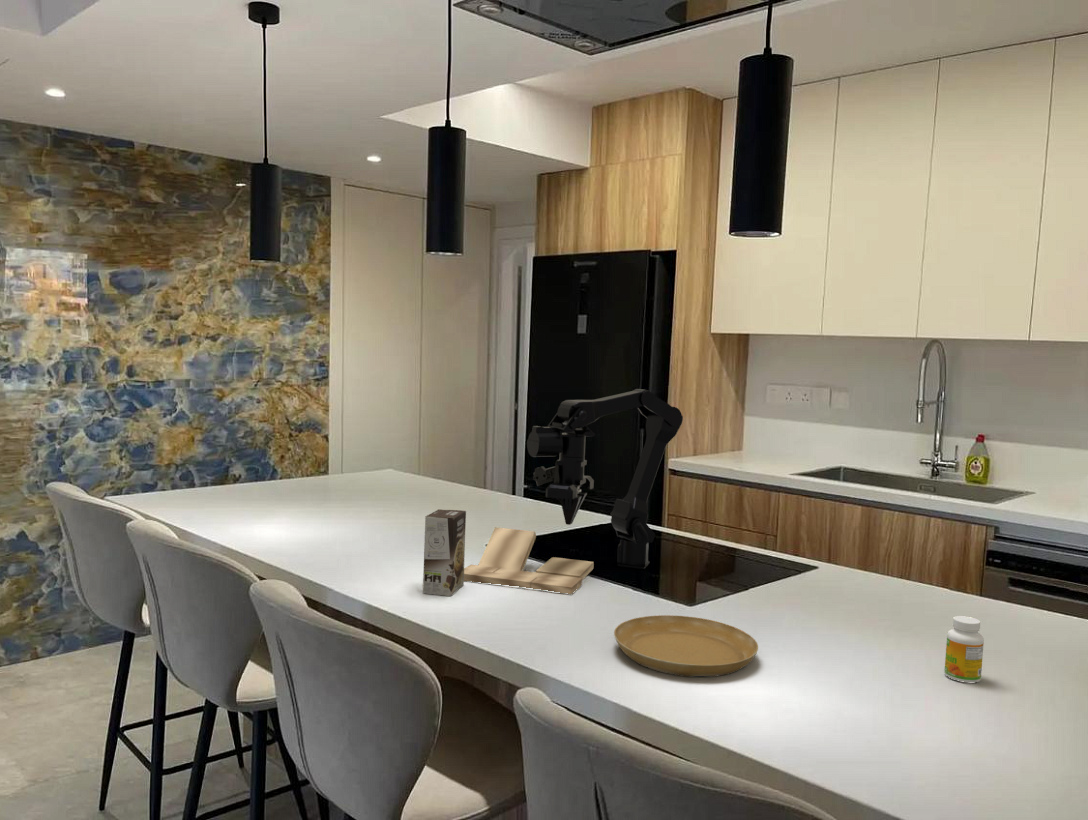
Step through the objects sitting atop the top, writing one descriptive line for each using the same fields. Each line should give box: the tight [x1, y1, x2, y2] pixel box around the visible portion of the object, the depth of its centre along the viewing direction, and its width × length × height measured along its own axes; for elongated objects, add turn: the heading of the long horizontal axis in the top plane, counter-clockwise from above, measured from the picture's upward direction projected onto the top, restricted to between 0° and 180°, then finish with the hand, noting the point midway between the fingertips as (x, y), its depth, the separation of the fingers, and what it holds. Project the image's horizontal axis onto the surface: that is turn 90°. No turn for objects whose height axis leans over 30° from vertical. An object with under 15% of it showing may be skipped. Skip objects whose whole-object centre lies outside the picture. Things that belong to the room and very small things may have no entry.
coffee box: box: [422, 509, 467, 597], centre depth 180 cm, size 9×6×16 cm
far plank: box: [477, 527, 537, 571], centre depth 199 cm, size 10×12×2 cm
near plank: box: [535, 556, 595, 581], centre depth 196 cm, size 10×12×2 cm
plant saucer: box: [613, 614, 759, 677], centre depth 147 cm, size 24×24×3 cm
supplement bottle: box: [943, 615, 985, 683], centre depth 141 cm, size 5×5×10 cm
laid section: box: [464, 564, 583, 595], centre depth 187 cm, size 26×8×2 cm, turn 72°
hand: (568, 524), depth 197 cm, fingers closed
